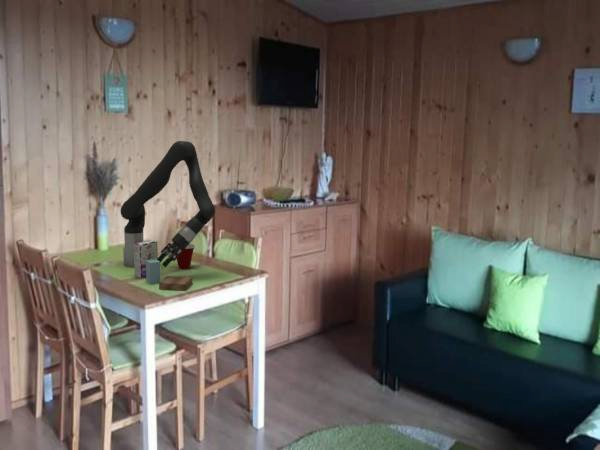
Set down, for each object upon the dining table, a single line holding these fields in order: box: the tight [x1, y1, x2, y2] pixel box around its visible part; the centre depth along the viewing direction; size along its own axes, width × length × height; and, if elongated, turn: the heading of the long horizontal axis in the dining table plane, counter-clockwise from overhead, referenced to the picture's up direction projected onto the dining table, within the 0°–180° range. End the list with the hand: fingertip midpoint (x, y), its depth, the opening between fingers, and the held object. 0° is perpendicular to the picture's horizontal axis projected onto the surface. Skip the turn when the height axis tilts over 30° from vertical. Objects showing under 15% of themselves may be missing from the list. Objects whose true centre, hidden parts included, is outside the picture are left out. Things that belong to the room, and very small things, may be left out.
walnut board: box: [158, 275, 193, 292], centre depth 272 cm, size 12×12×3 cm
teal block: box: [145, 260, 161, 285], centre depth 277 cm, size 5×5×10 cm
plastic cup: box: [176, 243, 196, 270], centre depth 305 cm, size 11×11×12 cm
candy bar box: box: [133, 239, 159, 279], centre depth 288 cm, size 11×5×16 cm, turn 148°
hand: (160, 263), depth 278 cm, fingers open, 8 cm apart
